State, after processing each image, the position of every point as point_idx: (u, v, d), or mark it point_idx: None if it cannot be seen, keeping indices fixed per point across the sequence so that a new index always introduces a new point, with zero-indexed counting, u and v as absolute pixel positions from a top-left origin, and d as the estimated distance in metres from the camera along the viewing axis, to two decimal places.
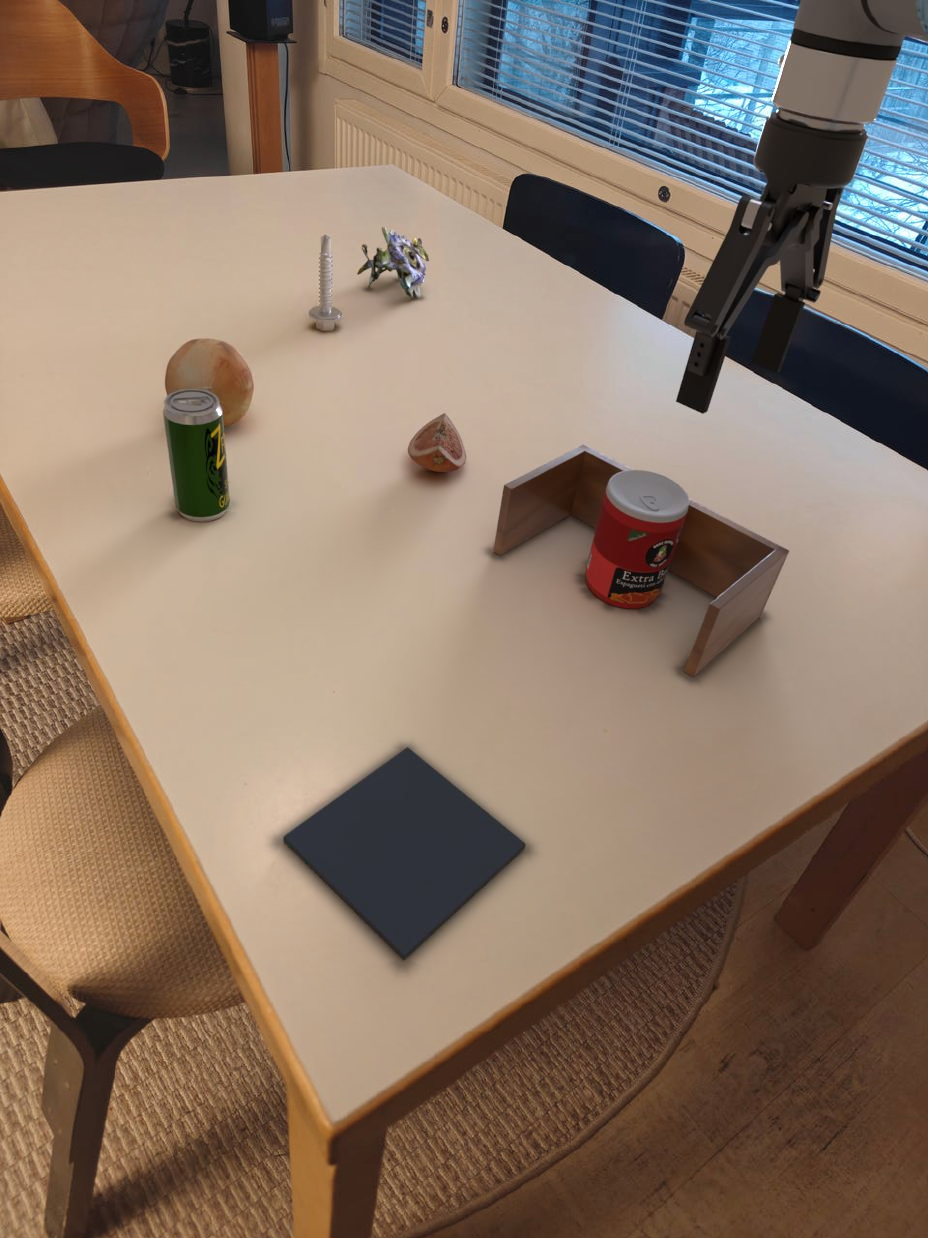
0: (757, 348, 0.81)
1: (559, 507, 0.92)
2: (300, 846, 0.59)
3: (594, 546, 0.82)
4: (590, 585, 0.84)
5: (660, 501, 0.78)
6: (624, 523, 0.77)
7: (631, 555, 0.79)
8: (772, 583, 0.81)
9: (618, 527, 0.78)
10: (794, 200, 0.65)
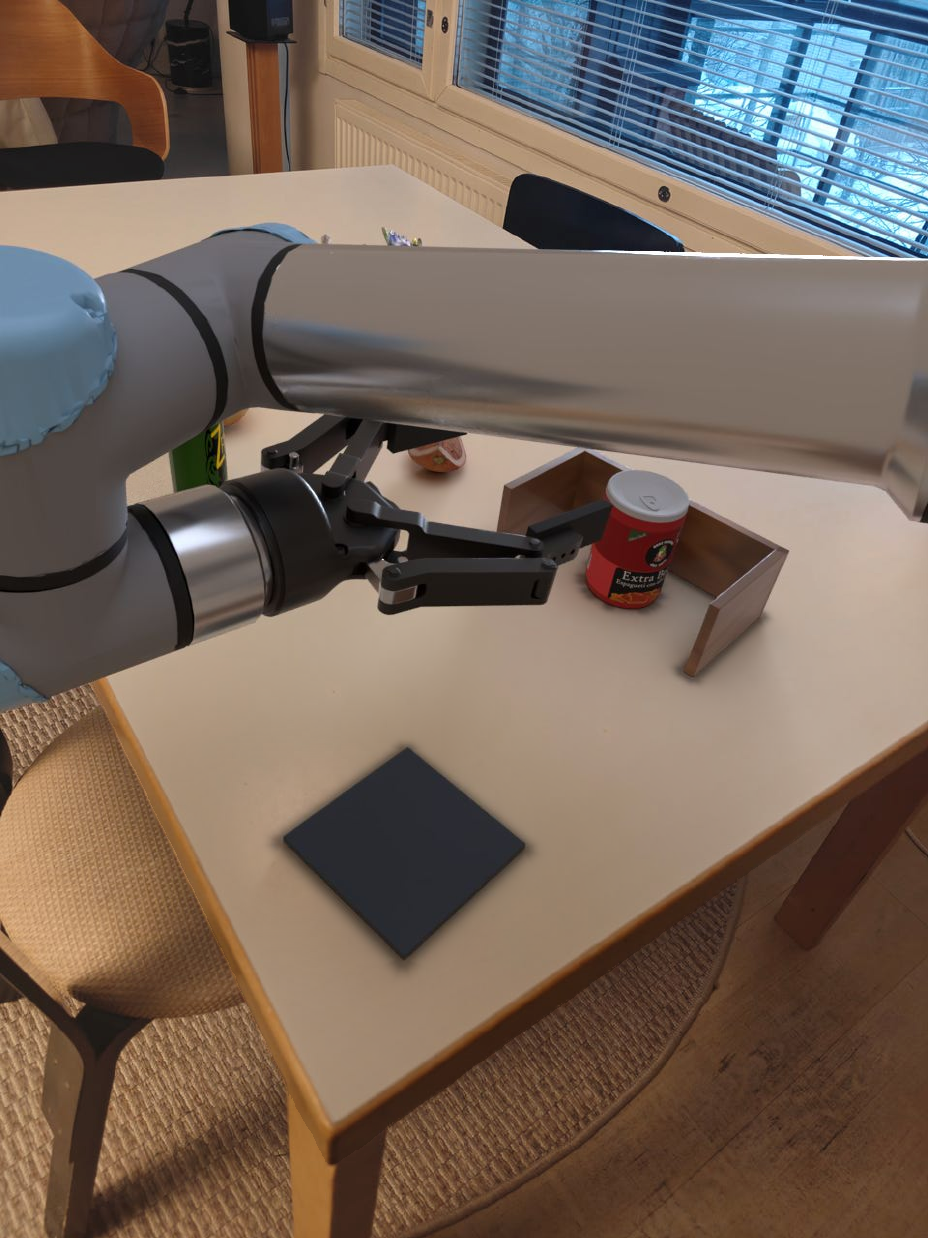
0: (451, 436, 0.60)
1: (559, 507, 0.92)
2: (300, 846, 0.59)
3: (594, 546, 0.82)
4: (590, 585, 0.84)
5: (660, 501, 0.78)
6: (624, 523, 0.77)
7: (631, 555, 0.79)
8: (772, 583, 0.81)
9: (618, 527, 0.78)
10: (346, 534, 0.46)
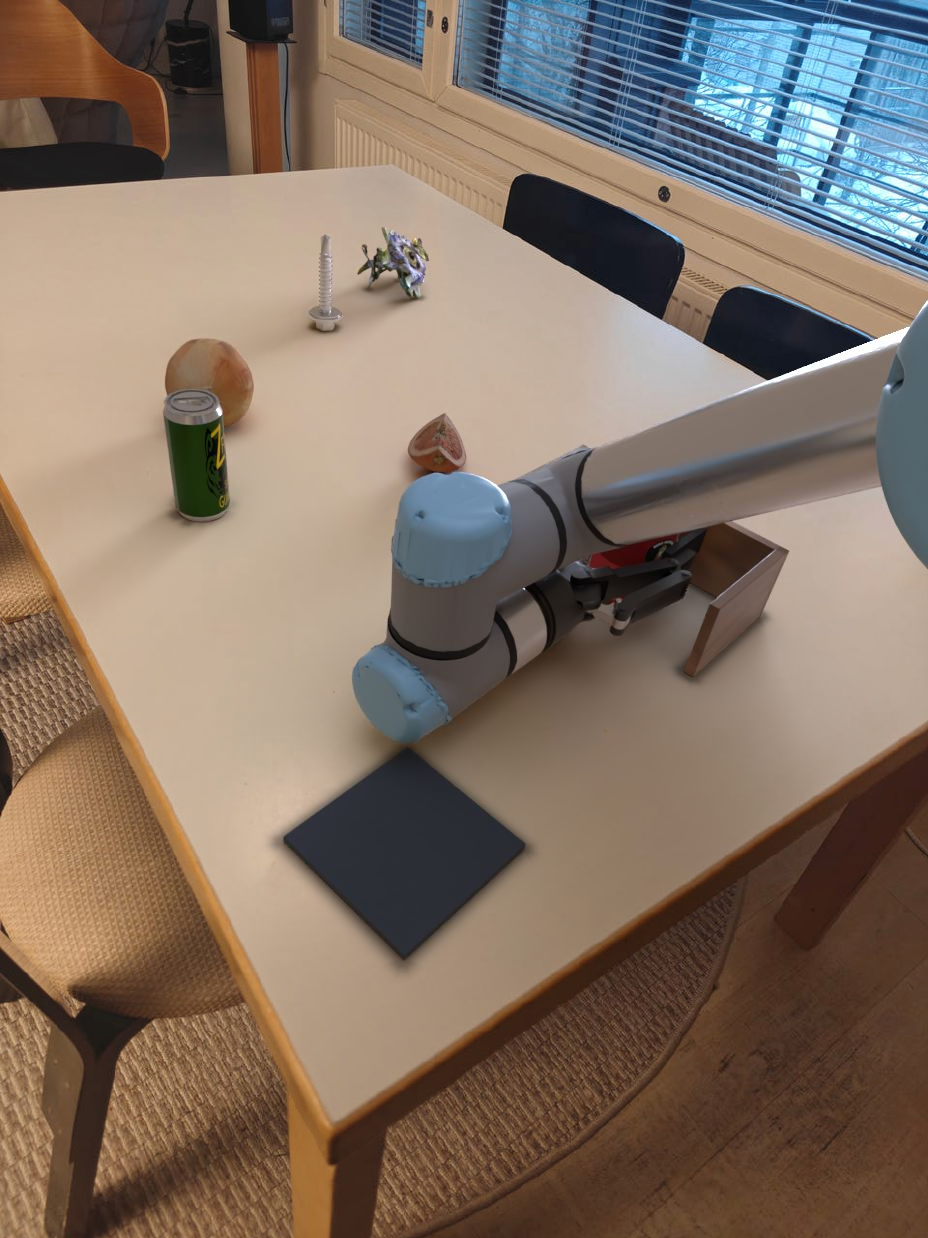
0: None
1: None
2: (300, 846, 0.59)
3: None
4: None
5: None
6: None
7: (631, 555, 0.79)
8: (772, 583, 0.81)
9: None
10: (577, 596, 0.72)
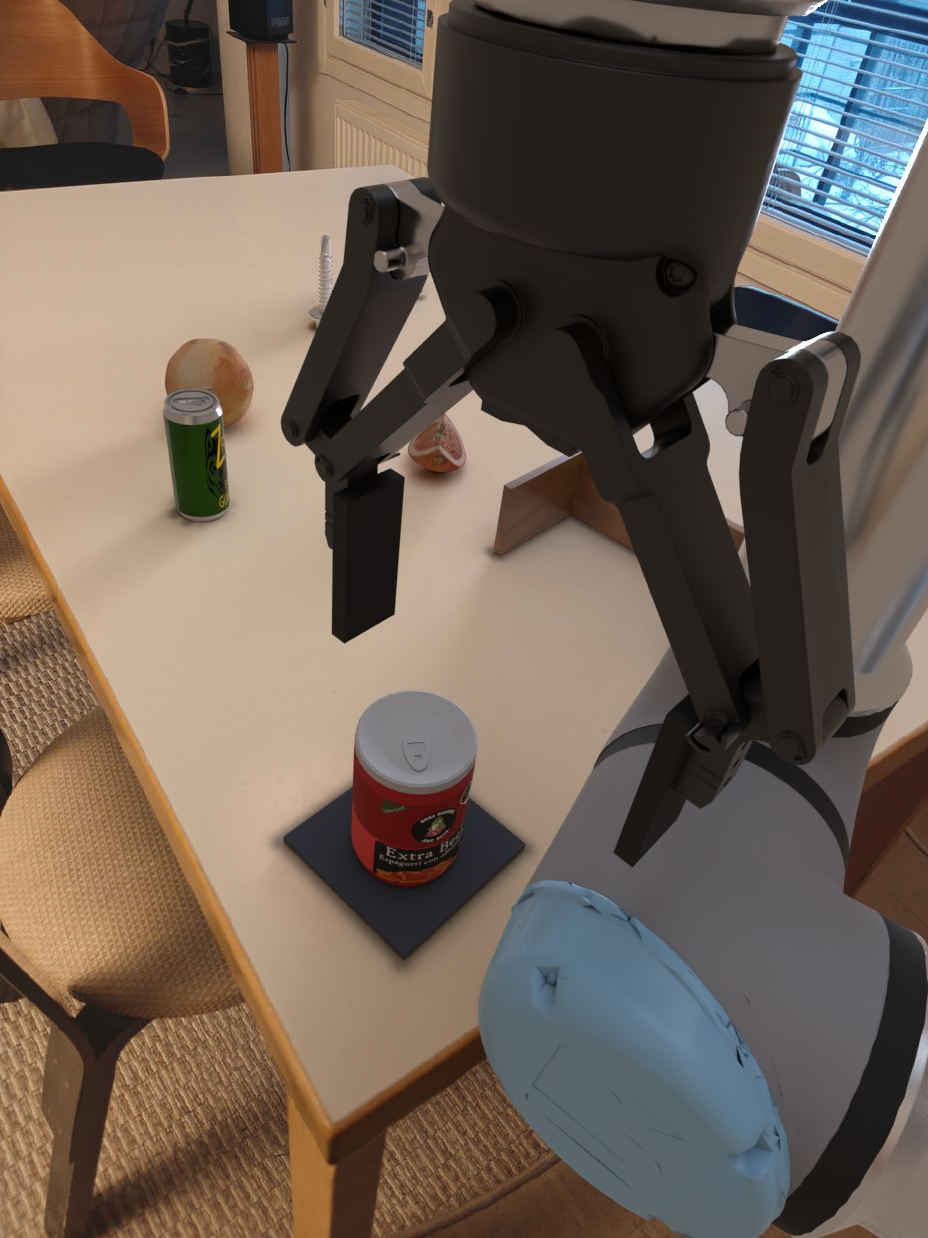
0: (348, 613, 0.32)
1: (559, 507, 0.92)
2: (300, 846, 0.59)
3: (352, 799, 0.56)
4: (354, 848, 0.58)
5: (432, 751, 0.52)
6: (373, 790, 0.51)
7: (391, 830, 0.53)
8: None
9: (368, 792, 0.52)
10: None
